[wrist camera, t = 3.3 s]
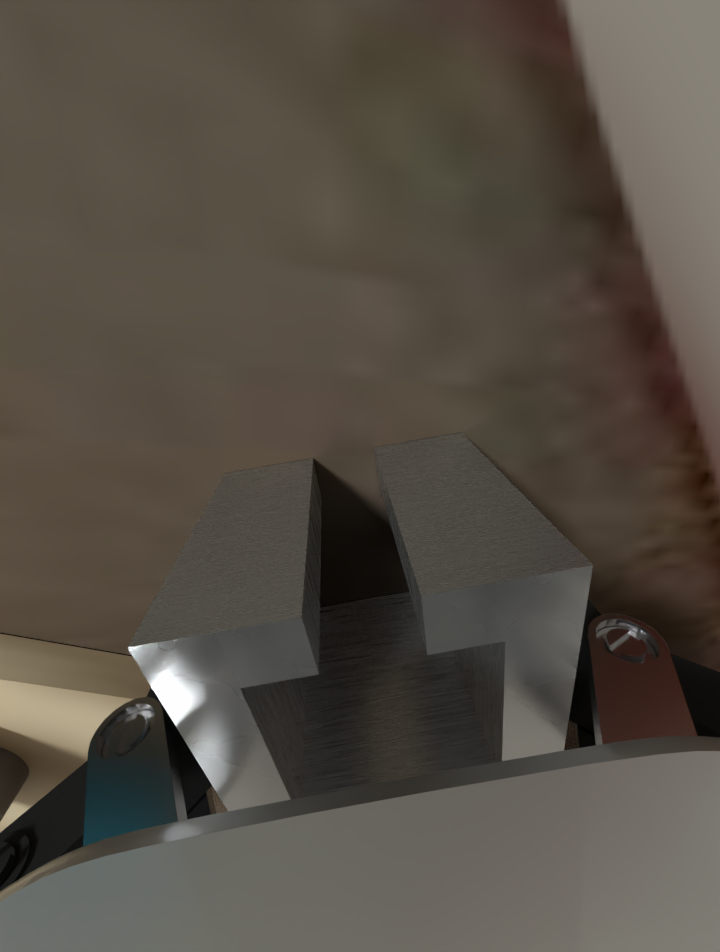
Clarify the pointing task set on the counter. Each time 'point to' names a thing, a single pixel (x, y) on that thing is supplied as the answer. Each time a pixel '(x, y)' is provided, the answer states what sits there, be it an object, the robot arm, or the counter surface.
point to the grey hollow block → (367, 632)
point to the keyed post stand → (53, 713)
